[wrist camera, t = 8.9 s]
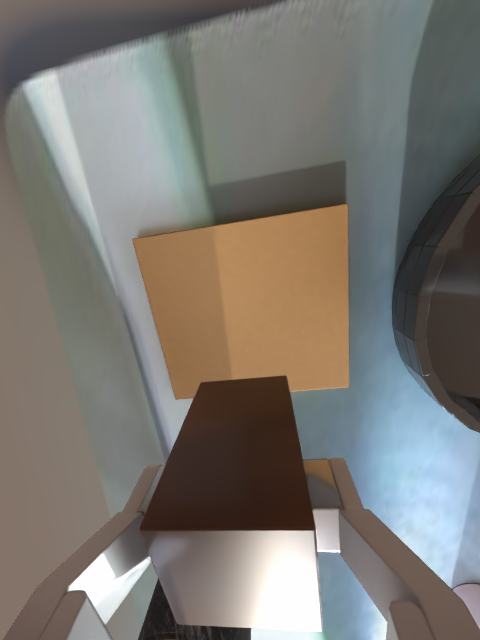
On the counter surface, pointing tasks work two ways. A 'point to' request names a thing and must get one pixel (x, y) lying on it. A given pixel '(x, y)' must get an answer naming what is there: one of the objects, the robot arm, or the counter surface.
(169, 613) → the travel mug
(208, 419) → the walnut block
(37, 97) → the counter surface
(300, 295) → the mat
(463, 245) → the pan
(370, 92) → the counter surface
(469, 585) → the smoothie
